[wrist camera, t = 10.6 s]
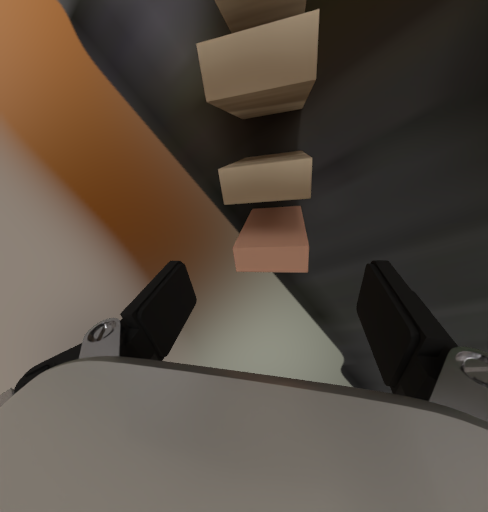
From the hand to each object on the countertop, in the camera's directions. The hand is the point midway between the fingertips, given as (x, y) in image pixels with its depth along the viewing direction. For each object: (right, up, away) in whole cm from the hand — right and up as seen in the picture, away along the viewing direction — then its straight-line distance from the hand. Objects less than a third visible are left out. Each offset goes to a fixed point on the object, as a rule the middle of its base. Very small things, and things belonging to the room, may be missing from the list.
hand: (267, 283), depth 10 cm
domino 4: (+2, +10, +8) cm, 13 cm away
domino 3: (+1, +14, +6) cm, 15 cm away
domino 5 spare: (+2, +6, +10) cm, 12 cm away
